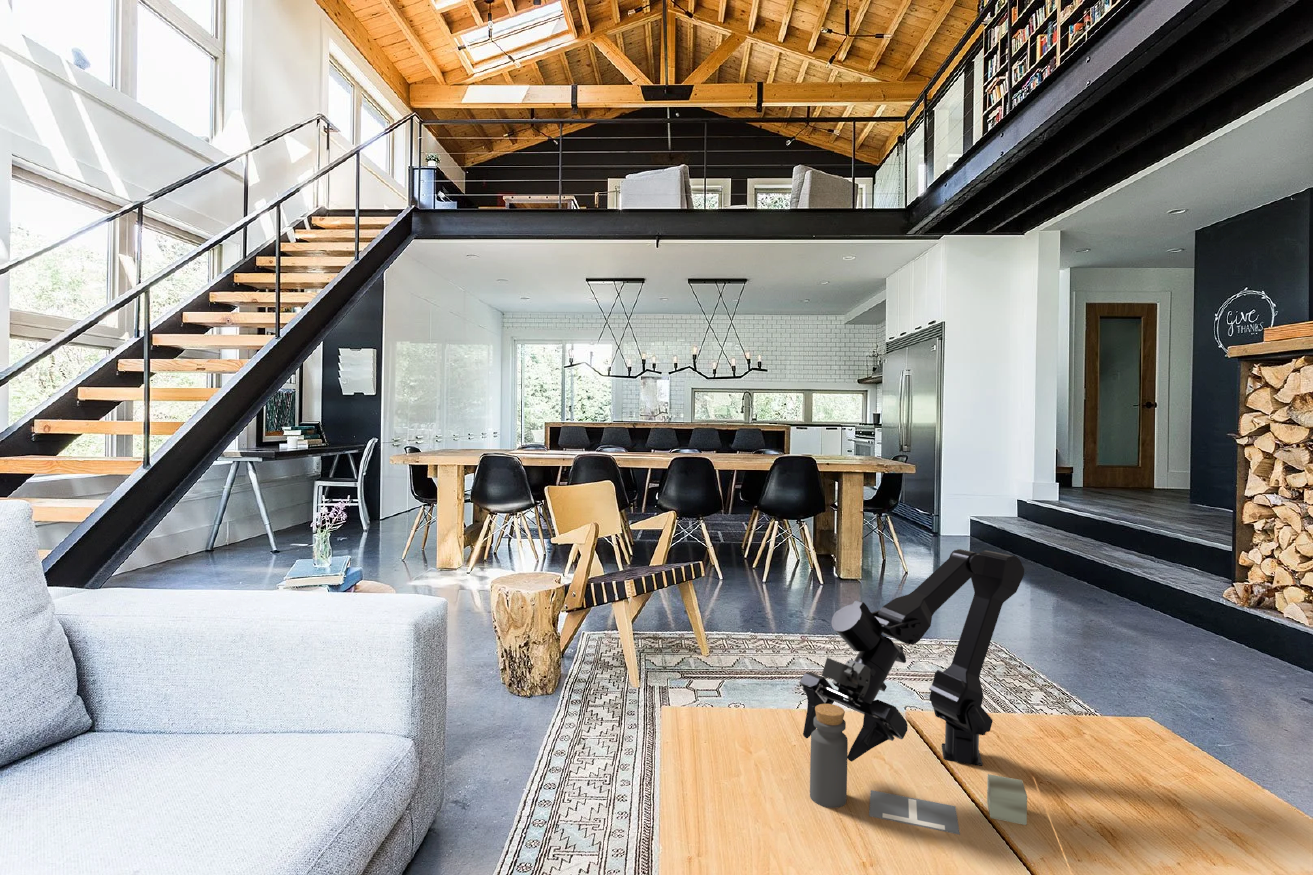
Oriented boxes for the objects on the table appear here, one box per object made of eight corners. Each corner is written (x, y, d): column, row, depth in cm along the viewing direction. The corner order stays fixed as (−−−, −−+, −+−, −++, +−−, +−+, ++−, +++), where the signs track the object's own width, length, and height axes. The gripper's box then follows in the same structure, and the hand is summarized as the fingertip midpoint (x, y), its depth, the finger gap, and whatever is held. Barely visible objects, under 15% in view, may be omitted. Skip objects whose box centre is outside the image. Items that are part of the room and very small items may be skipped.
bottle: (847, 812, 106) (849, 718, 105) (810, 807, 107) (811, 714, 107) (845, 792, 111) (846, 703, 111) (809, 788, 113) (810, 700, 112)
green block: (986, 804, 109) (987, 773, 109) (1021, 810, 107) (1022, 780, 107) (990, 820, 104) (991, 789, 104) (1026, 828, 102) (1027, 795, 102)
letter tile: (870, 792, 112) (870, 789, 112) (955, 808, 107) (955, 805, 107) (868, 818, 104) (868, 815, 104) (959, 836, 100) (959, 834, 100)
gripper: (807, 626, 119) (761, 701, 113) (898, 656, 104) (851, 745, 98) (835, 661, 124) (792, 735, 118) (926, 696, 109) (883, 782, 102)
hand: (826, 747), depth 109 cm, fingers open, 9 cm apart
